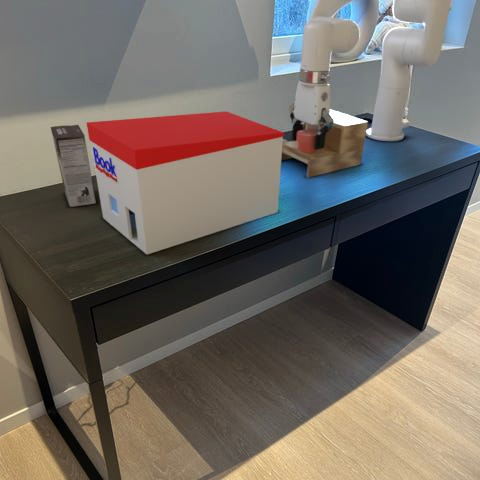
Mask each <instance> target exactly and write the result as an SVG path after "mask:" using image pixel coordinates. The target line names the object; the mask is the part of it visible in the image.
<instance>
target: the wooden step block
mask: <svg viewBox="0 0 480 480" xmlns="http://www.w3.org/2000/svg"><path fill="white" fill-rule="evenodd" d="M330 115H331V117H332V118H333V119H334V123H333V124H332V126H331V129H330V130H329V131H328V133H327V134H326V137H325V145H324V148H322V149H318V150H316V151H315V152H312V153H304V152H301V151H299V150H297V148H298V142H297V141H296V140H294V141H293V142H290V141H289V142H290V143H285V144H283V143H282V156H281V161H284V160H290V159H293V158H294V159H295V160H298V161H300V162H303V164H306V165H307V167H306V178H312V177H316V176H320V175H324V174H329V173H332V172H336V171H340V170H344V169H348V168H352V167H356V166H359V165H362V159H363V154H364V147H365V141H366V137H367V136H366V130H367V129H368V125H369V121H368V120H364V119H362V118H358V117H356V116H352V115H349V114H347V113H344V112H340V111H337V110H334V109H331V108H330ZM320 128H321V129H322V126H320ZM305 130H314V131H316V128H315V126H313V125H310V124H307V123H306V128H305Z"/></svg>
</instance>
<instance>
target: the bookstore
mask: <svg viewBox="0 0 480 480" xmlns="http://www.w3.org/2000/svg"><path fill="white" fill-rule="evenodd" d="M86 129H87V134H88V140H89V141H90V148H91V153H92V154H91V155H92V160H93V165H94V166H93V167H94V171H95V177H96V184H97V189H98V195H99V201H100V208H101V213H102V218H103V220H105V221H106V222H107V223H109V224H110V226H112V227H113V228H114V229H115V230H117V231H118V232H119V233H120V234H121V235H123V236H124V237H125V238H126V239H127V240H129V241H130V242H131V243H132V244H133V245H135V246H136V247H137V248H138V249H139V250H141V251H142V252H143V253H144V254H145V255H150V254H153V253H156V252H159V251H162V250H165V249H169V248H171V247H174V246H178V245H182V244H185V243H187V242H190V241H193V240H197V239H200V238H203V237H205V236H208V235H212V234H215V233H218V232H222V231H224V230H227V229H231V228H234V227H236V226H240V225H243V224H246V223H249V222H252V221H255V220H258V219H261V218H264V217H267V216H270V215H273V214H277V213H278V212H279V197H280V183H281V168H282V160H281V156H282V141H283V139H284V132H283V131H281V130H280V131H278V130H279V129H278V130H277V129H275V128H272V127H269V126H268V125H264V124H262V123H259V122H256V121H253V120H251V119H248V118H245V117H243V116H240V115H238V114H235V113H232V112H229V111H214V112H213V111H212V112H201V113H189V114H188V113H187V114H176V115H164V116H150V117H137V118H136V117H135V118H126V119H112V120H111V119H110V120H99V121H88V122H86Z"/></svg>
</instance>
